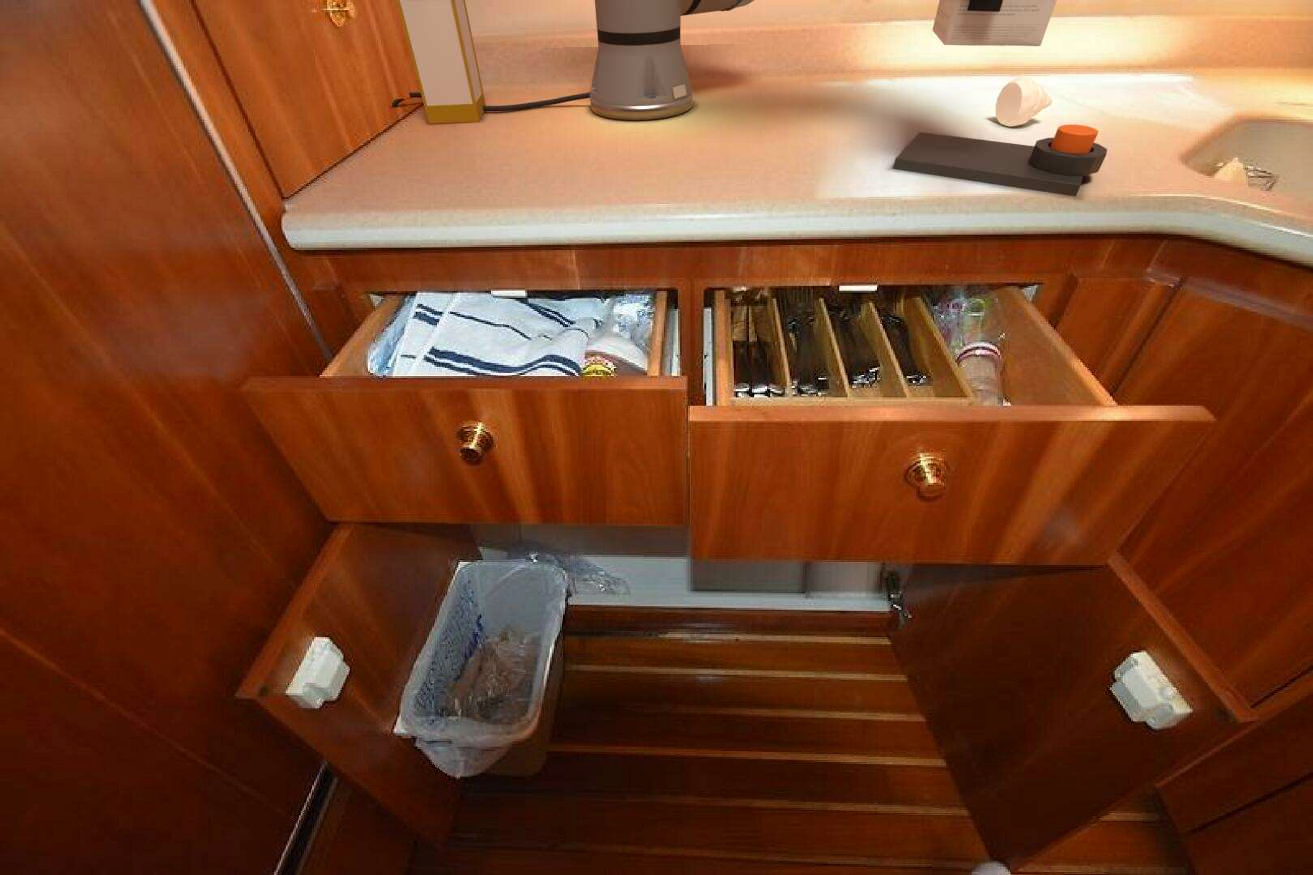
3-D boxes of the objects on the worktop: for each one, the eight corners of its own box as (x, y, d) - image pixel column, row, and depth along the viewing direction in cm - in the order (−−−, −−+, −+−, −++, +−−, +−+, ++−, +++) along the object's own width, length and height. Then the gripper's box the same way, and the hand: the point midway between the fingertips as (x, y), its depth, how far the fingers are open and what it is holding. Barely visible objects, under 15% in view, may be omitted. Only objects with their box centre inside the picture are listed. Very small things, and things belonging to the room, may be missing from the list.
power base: (892, 169, 65) (899, 140, 63) (916, 142, 72) (923, 115, 70) (1089, 199, 58) (1104, 167, 56) (1095, 165, 65) (1109, 136, 63)
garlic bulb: (1054, 127, 75) (1074, 78, 72) (1015, 132, 74) (1032, 83, 70) (1024, 116, 79) (1041, 69, 75) (986, 120, 78) (1001, 73, 74)
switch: (1047, 153, 60) (1056, 131, 59) (1051, 143, 63) (1059, 122, 61) (1087, 158, 59) (1097, 136, 58) (1089, 148, 61) (1099, 126, 60)
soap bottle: (420, 135, 80) (355, -99, 64) (439, 110, 89) (387, -99, 73) (473, 132, 80) (422, -101, 64) (486, 108, 90) (444, -101, 74)
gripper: (1171, -447, 33) (1019, 22, 48) (1164, -349, 48) (1048, -10, 63) (1027, -415, 36) (926, 18, 51) (1060, -332, 51) (973, -12, 66)
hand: (993, 3), depth 57 cm, fingers closed on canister, 10 cm apart
